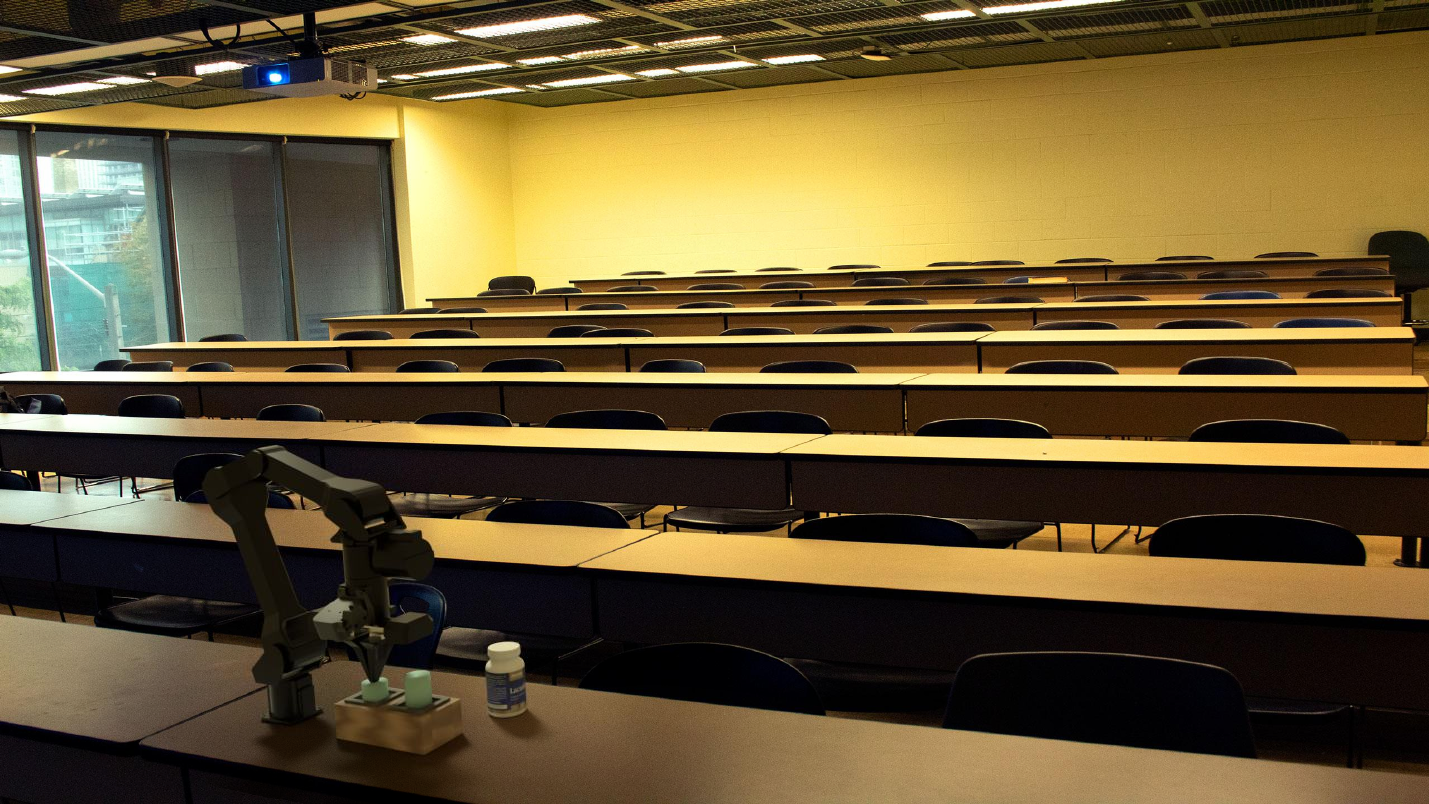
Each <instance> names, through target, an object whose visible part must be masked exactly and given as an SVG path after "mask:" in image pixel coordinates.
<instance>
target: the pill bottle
mask: <svg viewBox="0 0 1429 804" xmlns="http://www.w3.org/2000/svg"><path fill="white" fill-rule="evenodd" d="M520 654H521V645H520V644H519V642H514V641H502V642H496V643H493V644H490V645H489V646H488V647H487V657H488V658H489V660H488V661H487V662H486V665H485V682H486V684H485V685H486V687H485V688H486V706H487V711H488V712H487V713H488V714H489V715H490V716H492V717H496V718H501V719H503V718H512V717H516V716H520V715H521V714H524V712H525V711H526V710H527V707H528V706H527V705H528V704H527V703H528V702H527V688H526V682H527V681H526V667H525V662H524V661H525V660H523V658H521V657H520Z"/></svg>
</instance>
